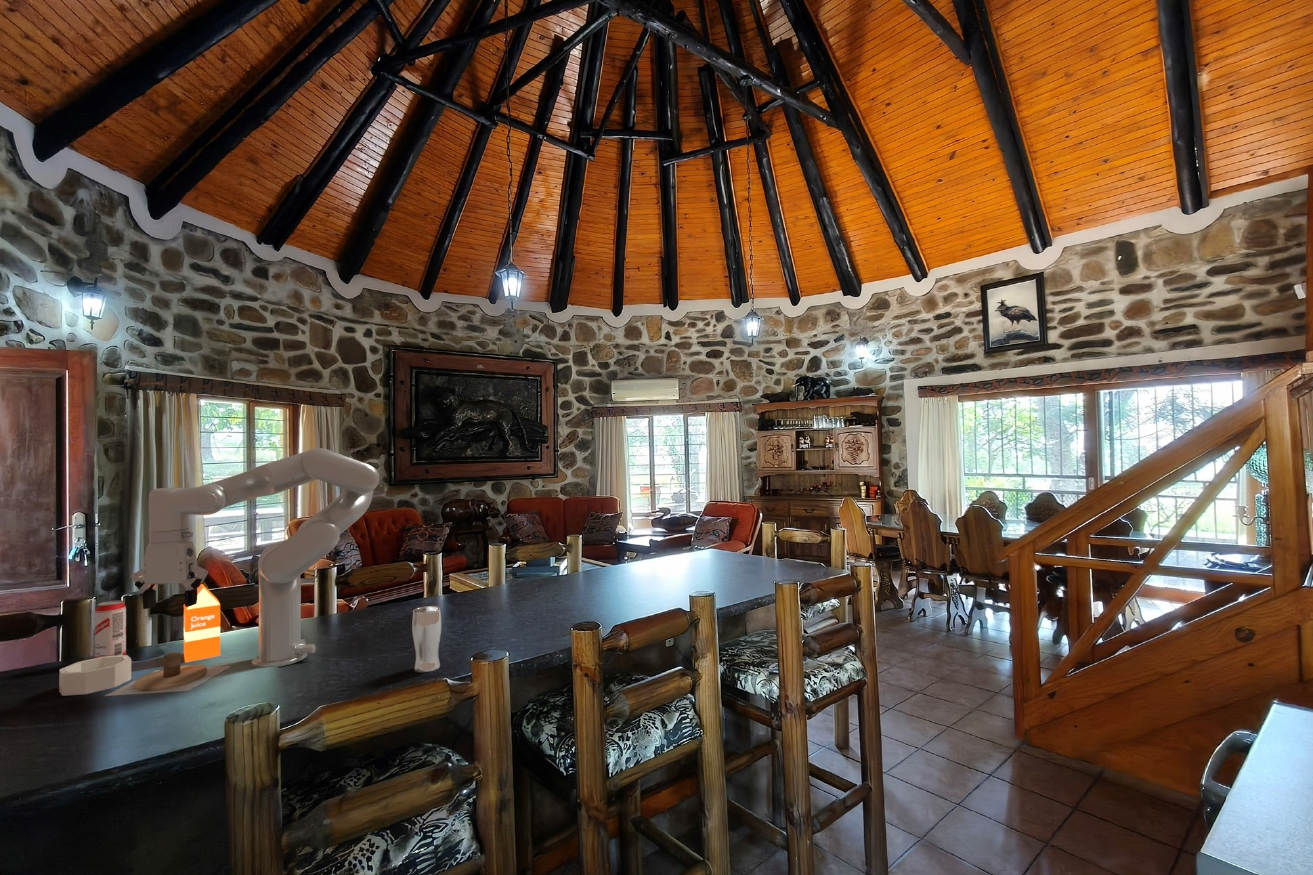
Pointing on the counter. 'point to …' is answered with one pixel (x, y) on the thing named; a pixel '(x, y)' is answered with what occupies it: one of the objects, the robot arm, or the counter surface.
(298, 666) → the counter surface
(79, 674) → the bowl
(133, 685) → the mat
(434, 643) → the beer glass
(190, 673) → the lid
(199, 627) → the orange juice
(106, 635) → the beer can
